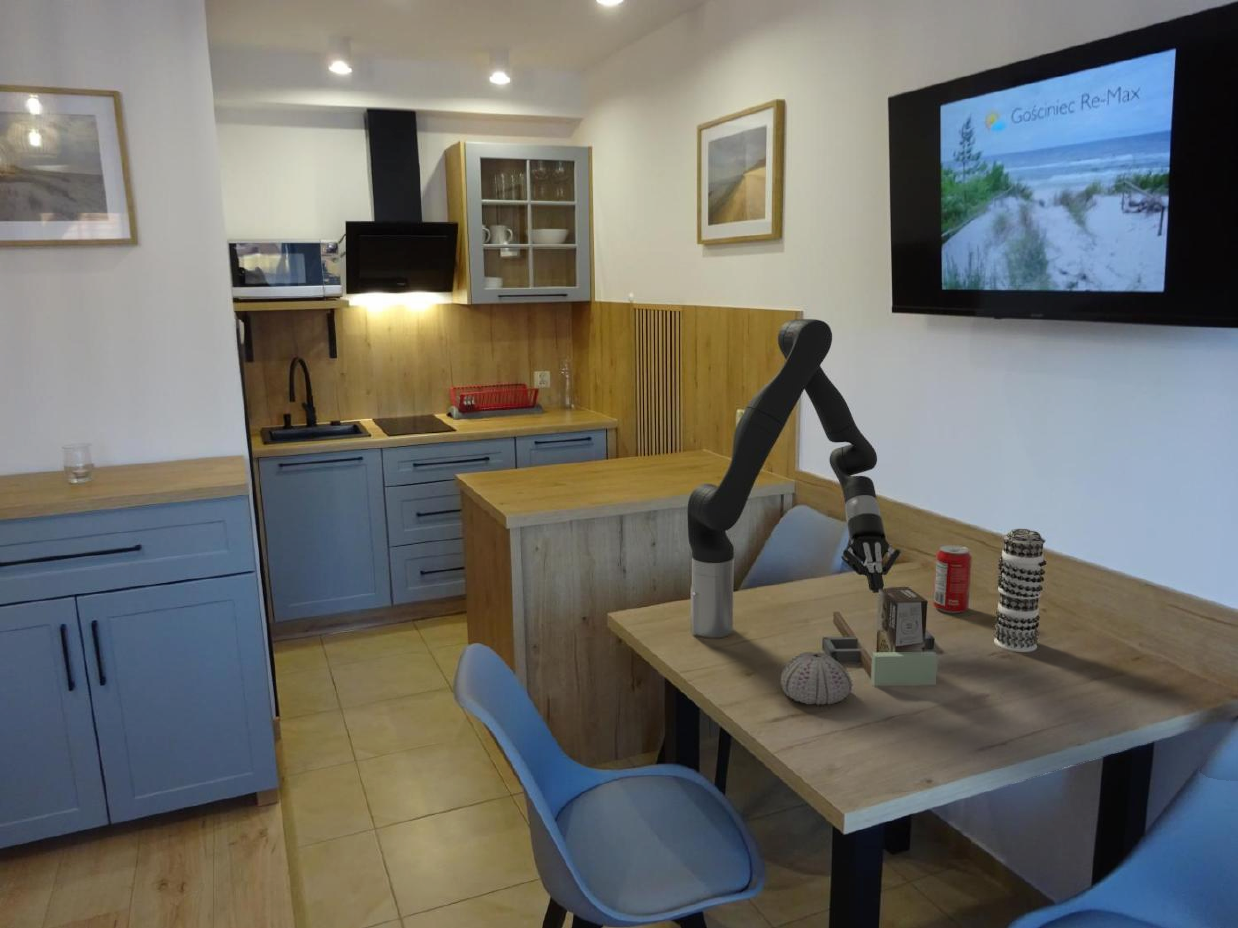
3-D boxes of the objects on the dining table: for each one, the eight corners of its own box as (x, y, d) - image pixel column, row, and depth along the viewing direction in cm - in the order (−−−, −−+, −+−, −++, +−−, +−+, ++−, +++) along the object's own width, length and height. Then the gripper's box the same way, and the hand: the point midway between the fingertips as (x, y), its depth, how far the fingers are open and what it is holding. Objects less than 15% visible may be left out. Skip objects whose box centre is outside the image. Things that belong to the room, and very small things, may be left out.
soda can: (928, 611, 209) (932, 550, 206) (938, 601, 215) (941, 542, 212) (963, 617, 204) (967, 555, 202) (971, 607, 211) (976, 547, 208)
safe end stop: (873, 685, 170) (875, 656, 169) (870, 681, 172) (872, 652, 171) (935, 684, 171) (937, 655, 169) (932, 680, 172) (933, 651, 171)
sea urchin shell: (766, 697, 167) (767, 657, 165) (801, 673, 177) (802, 635, 175) (830, 718, 158) (832, 676, 157) (863, 691, 168) (865, 652, 167)
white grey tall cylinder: (1017, 633, 195) (1026, 524, 190) (1048, 649, 186) (1059, 535, 181) (982, 638, 192) (990, 528, 187) (1013, 655, 184) (1022, 539, 179)
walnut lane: (874, 684, 171) (875, 672, 170) (833, 621, 203) (833, 611, 202) (933, 683, 171) (934, 671, 171) (882, 621, 203) (883, 610, 202)
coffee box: (924, 679, 173) (929, 601, 170) (893, 681, 172) (897, 602, 169) (904, 659, 182) (908, 585, 179) (874, 661, 181) (877, 587, 178)
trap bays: (830, 662, 181) (831, 651, 180) (815, 637, 194) (816, 626, 194) (944, 661, 181) (945, 649, 181) (921, 635, 194) (922, 625, 194)
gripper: (838, 512, 193) (850, 583, 184) (898, 511, 193) (913, 583, 184) (831, 528, 200) (842, 599, 190) (889, 528, 200) (903, 598, 190)
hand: (877, 591), depth 187 cm, fingers closed
